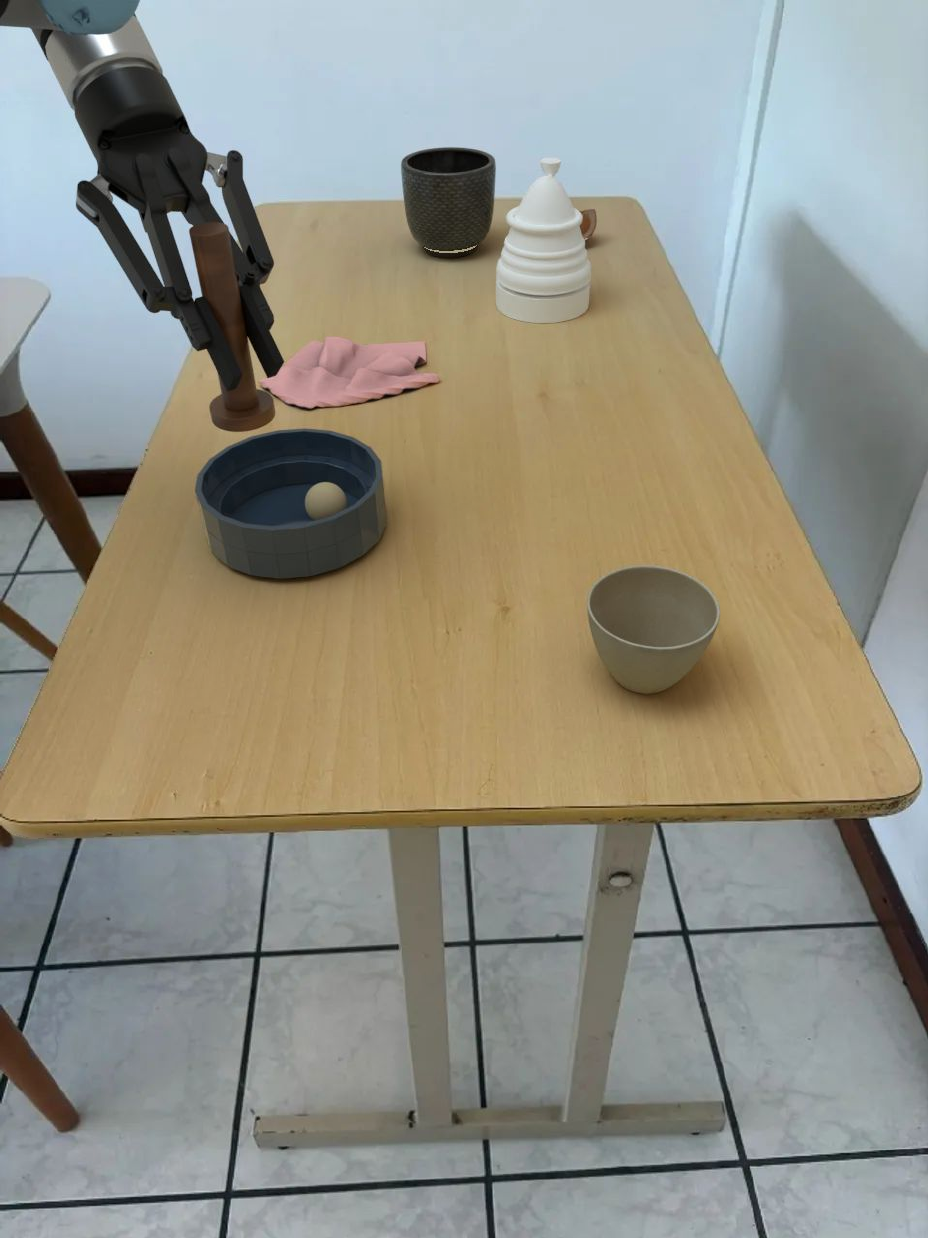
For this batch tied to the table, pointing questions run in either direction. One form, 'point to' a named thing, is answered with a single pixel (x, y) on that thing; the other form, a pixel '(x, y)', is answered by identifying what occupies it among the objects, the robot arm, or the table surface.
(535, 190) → the honey pot
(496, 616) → the table surface
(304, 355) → the cloth
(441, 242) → the planter
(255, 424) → the wooden peg stand
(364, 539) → the bowl
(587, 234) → the fruit slice
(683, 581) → the flower pot
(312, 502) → the dough ball
